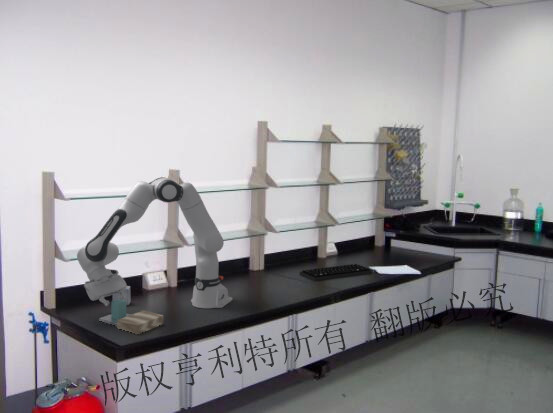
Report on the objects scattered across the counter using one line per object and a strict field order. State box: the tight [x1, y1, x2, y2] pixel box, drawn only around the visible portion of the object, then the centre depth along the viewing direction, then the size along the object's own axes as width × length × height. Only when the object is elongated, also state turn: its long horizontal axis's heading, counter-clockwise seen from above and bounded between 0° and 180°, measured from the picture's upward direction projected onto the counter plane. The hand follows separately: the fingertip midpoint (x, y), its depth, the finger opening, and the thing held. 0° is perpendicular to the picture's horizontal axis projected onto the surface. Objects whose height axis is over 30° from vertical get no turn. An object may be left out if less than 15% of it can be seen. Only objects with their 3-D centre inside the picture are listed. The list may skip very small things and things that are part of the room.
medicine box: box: [112, 285, 131, 306], centre depth 274 cm, size 8×4×9 cm, turn 92°
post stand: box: [98, 312, 132, 327], centre depth 251 cm, size 12×12×6 cm
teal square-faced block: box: [110, 299, 127, 320], centre depth 251 cm, size 5×5×8 cm
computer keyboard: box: [299, 263, 373, 282], centre depth 349 cm, size 45×16×4 cm, turn 122°
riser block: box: [116, 309, 164, 335], centre depth 245 cm, size 16×12×4 cm
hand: (115, 302), depth 251 cm, fingers open, 8 cm apart
